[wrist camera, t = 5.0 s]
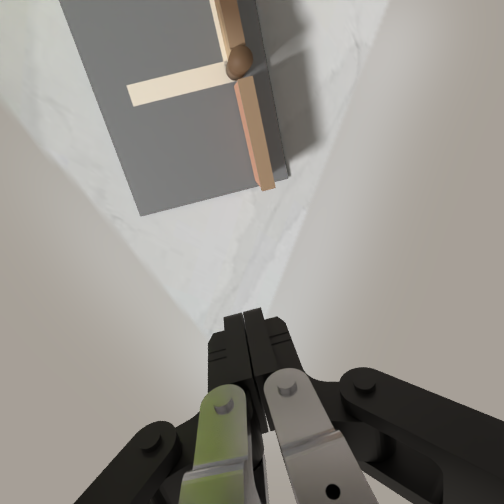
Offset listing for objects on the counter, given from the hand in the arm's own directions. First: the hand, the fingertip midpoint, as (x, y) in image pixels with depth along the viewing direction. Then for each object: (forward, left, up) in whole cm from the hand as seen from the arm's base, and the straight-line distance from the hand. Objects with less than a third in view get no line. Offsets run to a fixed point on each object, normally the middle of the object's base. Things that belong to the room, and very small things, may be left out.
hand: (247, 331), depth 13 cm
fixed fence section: (-15, +4, -24) cm, 28 cm away
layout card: (-11, -1, -24) cm, 27 cm away
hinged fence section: (-6, +4, -24) cm, 25 cm away
